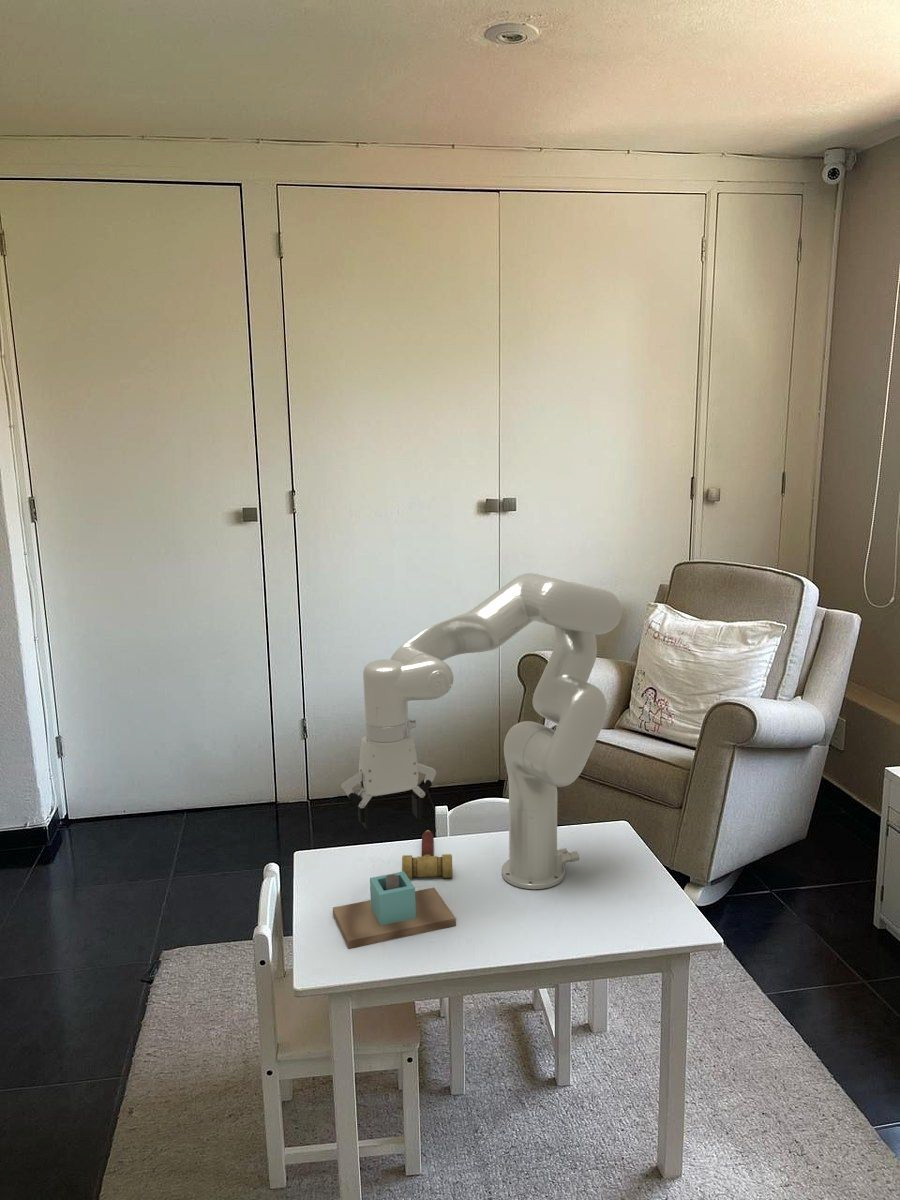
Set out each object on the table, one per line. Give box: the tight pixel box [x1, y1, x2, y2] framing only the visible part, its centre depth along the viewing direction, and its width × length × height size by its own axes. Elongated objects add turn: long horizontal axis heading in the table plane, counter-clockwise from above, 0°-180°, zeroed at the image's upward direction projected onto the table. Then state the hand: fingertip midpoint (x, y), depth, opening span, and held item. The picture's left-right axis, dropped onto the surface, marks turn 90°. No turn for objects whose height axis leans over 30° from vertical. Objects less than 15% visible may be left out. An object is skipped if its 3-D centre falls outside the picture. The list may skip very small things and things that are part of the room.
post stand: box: [332, 873, 457, 949], centre depth 170 cm, size 20×12×8 cm, turn 110°
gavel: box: [401, 829, 453, 880], centre depth 195 cm, size 21×5×10 cm
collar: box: [369, 871, 416, 925], centre depth 169 cm, size 7×7×6 cm
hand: (391, 820), depth 167 cm, fingers open, 9 cm apart
